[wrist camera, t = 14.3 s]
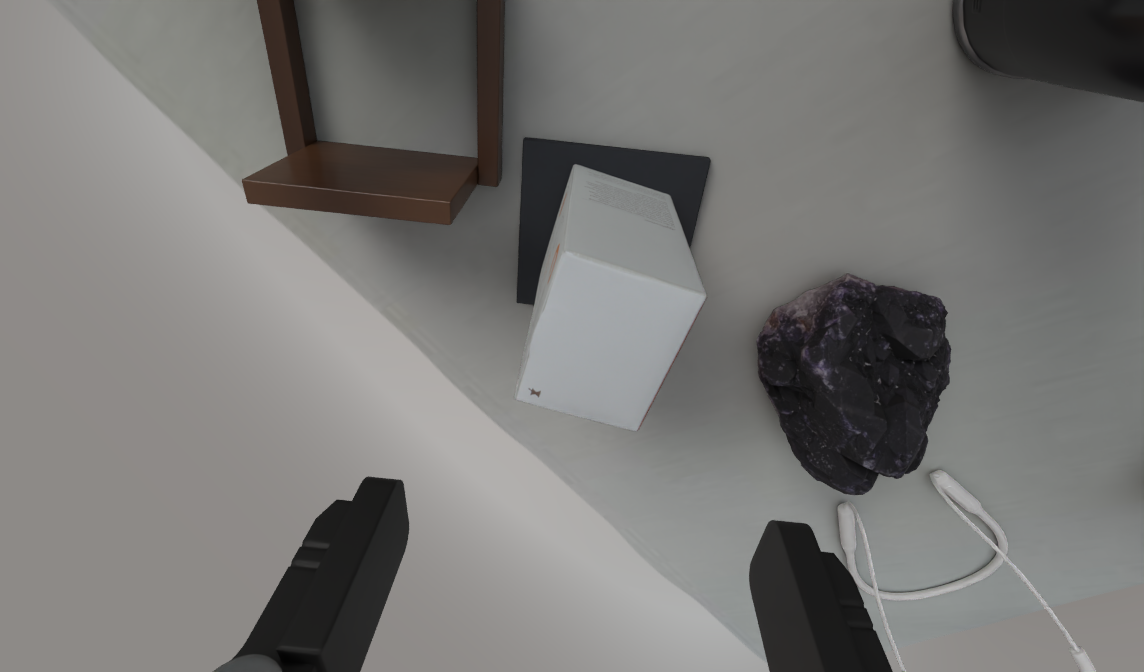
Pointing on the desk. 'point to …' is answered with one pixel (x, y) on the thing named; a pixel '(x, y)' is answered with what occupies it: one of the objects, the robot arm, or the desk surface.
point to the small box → (609, 302)
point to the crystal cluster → (856, 378)
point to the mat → (555, 159)
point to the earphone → (971, 505)
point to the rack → (368, 172)
